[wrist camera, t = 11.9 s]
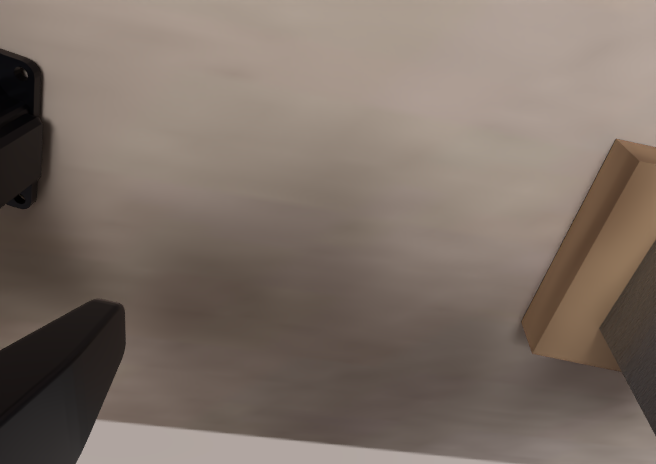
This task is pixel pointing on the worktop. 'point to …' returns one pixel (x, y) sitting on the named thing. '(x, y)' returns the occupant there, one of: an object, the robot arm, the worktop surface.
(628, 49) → the worktop surface
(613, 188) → the stand
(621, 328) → the teal block grey base
